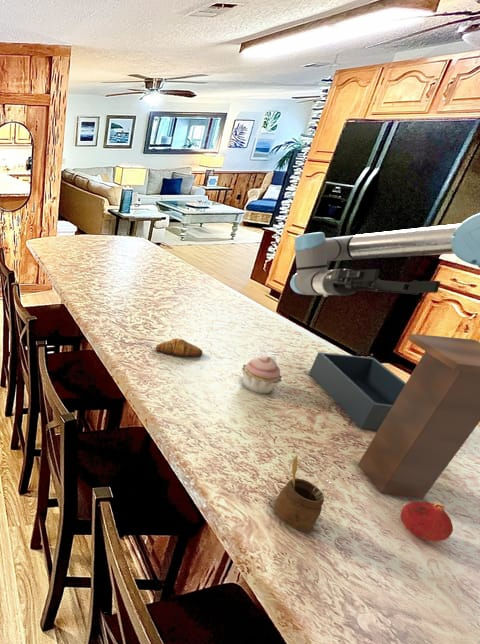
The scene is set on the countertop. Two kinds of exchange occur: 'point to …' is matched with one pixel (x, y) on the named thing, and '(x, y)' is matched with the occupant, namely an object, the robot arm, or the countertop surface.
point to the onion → (427, 520)
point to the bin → (358, 386)
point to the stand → (427, 418)
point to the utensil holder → (299, 502)
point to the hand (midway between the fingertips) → (407, 280)
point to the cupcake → (261, 374)
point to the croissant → (179, 348)
